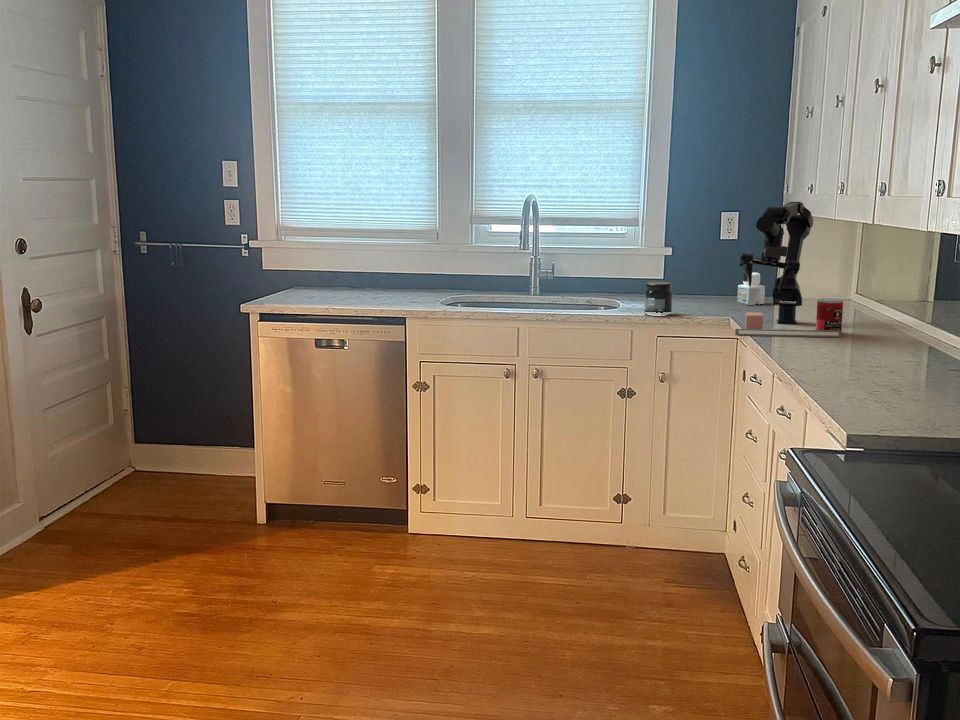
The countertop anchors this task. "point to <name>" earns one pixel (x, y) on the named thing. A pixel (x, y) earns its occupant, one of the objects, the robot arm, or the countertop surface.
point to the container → (751, 290)
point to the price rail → (788, 333)
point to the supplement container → (658, 297)
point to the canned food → (829, 314)
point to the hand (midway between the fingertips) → (764, 288)
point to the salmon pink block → (754, 320)
